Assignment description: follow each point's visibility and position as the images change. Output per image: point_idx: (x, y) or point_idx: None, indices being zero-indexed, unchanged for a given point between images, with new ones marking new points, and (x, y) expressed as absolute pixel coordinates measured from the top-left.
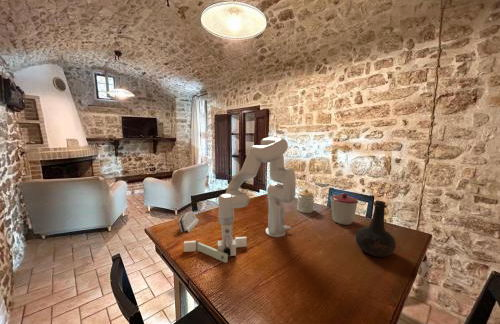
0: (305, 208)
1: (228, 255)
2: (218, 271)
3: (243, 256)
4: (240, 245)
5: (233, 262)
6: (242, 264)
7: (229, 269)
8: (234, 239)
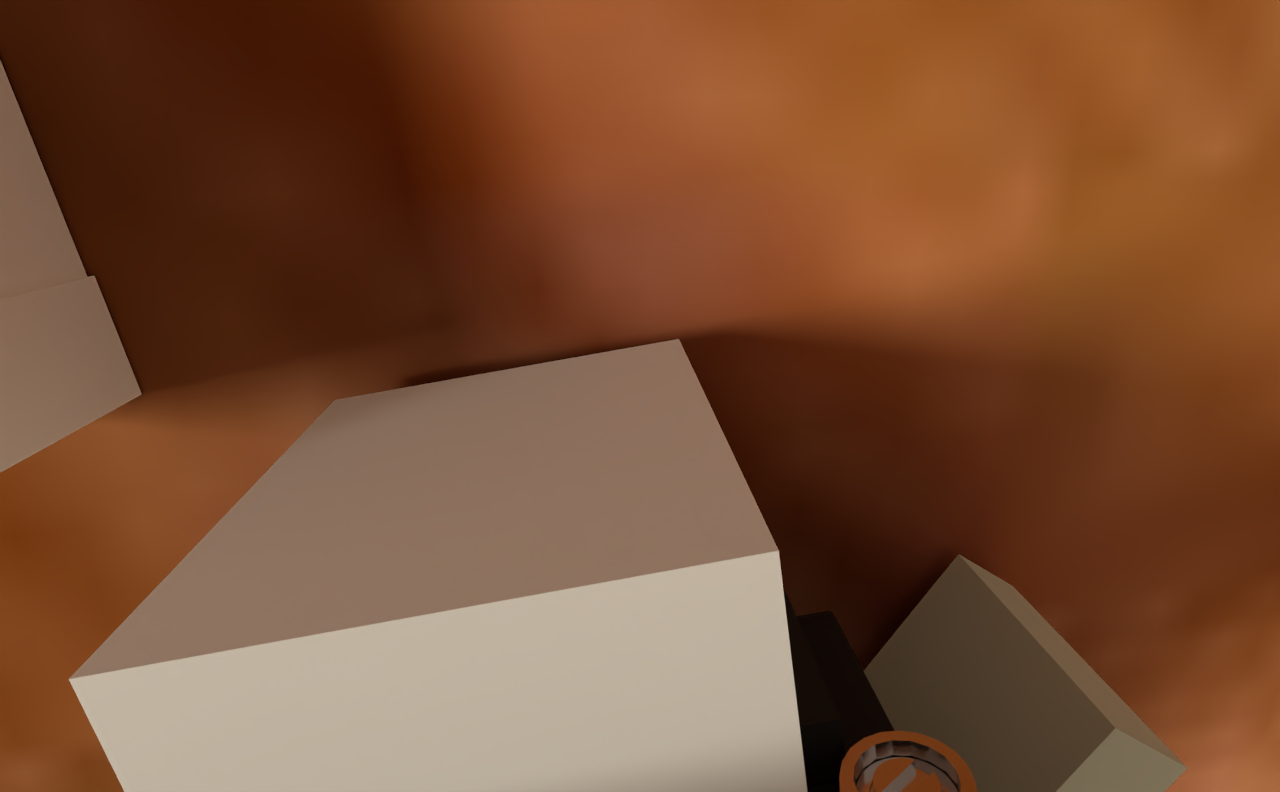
0: None
1: None
2: (1253, 693)
3: (666, 59)
4: (12, 209)
5: (965, 382)
6: (1103, 85)
7: (1245, 458)
8: (120, 707)
